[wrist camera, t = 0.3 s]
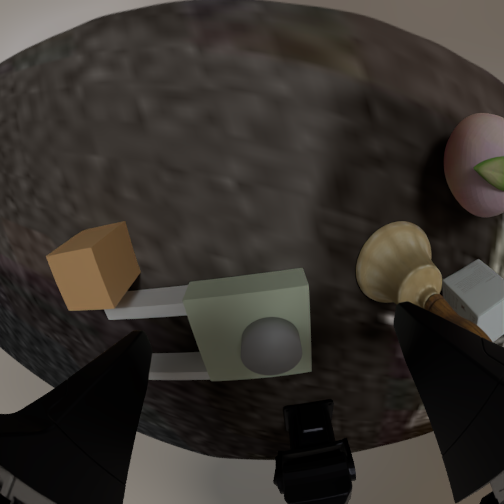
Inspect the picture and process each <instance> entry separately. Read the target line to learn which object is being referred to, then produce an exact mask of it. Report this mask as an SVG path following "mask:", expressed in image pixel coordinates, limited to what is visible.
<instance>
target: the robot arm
mask: <svg viewBox="0 0 504 504" xmlns="http://www.w3.org/2000/svg"><path fill="white" fill-rule="evenodd" d="M394 328H395V331H396V334H397V337H398V340H399V343H400V346H401V349H402V352H403V355H404V358H405V361H406V364H407V366H408V368H409V371H410V373H411V375H412V377H413V380H414V382H415V384H416V387H417V389H418V392H419V394H420V397H421V399H422V402H423V404H424V407H425V409H426V412H427V414H428V417H429V420H430V422H431V425H432V428H433V431H434V434H435V436H436V439H437V442H438V445H439V448H440V451H441V454H442V458H443V461H444V464H445V468H446V471H447V475H448V478H449V481H450V485H451V489H452V493H453V497H454V500H455V503H458V502H460V501H461V500H463V499H465V498H467V497H468V496H470V495H472V494H473V493H474V492H477V491H478V490H480V489H481V488H483V487H484V486H486V485H487V484H489V483H490V484H491V487H492V489H493V491H492V492H491V493H489V494H488V495H486V496H485V497H483V498H482V499H481V502H480V504H504V347H501V346H499V345H497V344H495V343H493V342H491V341H489V340H487V339H485V338H483V337H480V336H479V335H477V334H475V333H473V332H471V331H469V330H467V329H465V328H463V327H461V326H459V325H457V324H455V323H453V322H451V321H449V320H446V319H444V318H442V317H440V316H438V315H436V314H434V313H432V312H430V311H428V310H426V309H424V308H422V307H420V306H417V305H415V304H413V303H411V302H409V301H405V302H400V303H398V304H397V307H396V312H395V317H394ZM151 359H152V347H151V345H150V342H149V340H148V338H147V335H146V333H145V332H144V331H142V330H135V331H132V332H131V333H129V334H128V335H127V336H125V337H124V338H123V339H121V340H120V341H118V342H117V343H116V344H114V345H113V346H112V347H110V348H109V349H108V350H106V351H105V352H103V353H102V354H101V355H99V356H98V357H97V358H95V359H94V360H93V361H91V362H90V363H88V364H87V365H86V366H84V367H83V368H82V369H80V370H79V371H78V372H76V373H75V374H73V375H72V376H71V377H69V378H68V380H65V381H64V382H63V383H61V384H60V385H59V386H57V387H56V388H54V389H53V390H51V391H50V392H48V393H47V394H45V395H44V396H42V397H41V398H39V399H37V400H36V401H34V402H33V403H31V404H29V405H28V406H26V407H25V408H23V409H21V410H20V411H18V412H15V413H12V414H0V504H123V499H124V493H125V486H126V485H125V484H126V480H127V474H128V469H129V464H130V459H131V454H132V450H133V445H134V440H135V435H136V431H137V427H138V423H139V418H140V414H141V410H142V406H143V402H144V398H145V394H146V390H147V385H148V379H149V372H150V365H151ZM333 404H334V403H333V400H326V401H320V402H314V403H308V404H301V405H294V406H286V407H284V416H285V423H286V430H287V431H289V436H290V447H291V450H287V451H278V456H276V457H275V460H276V469H275V475H274V480H273V481H274V484H275V485H276V486H278V489H279V491H280V493H281V494H284V499H285V501H286V502H287V504H348V502H349V500H350V498H351V492H352V482H351V481H355V480H356V472H355V466H354V461H353V458H352V454H351V451H350V447H349V444H348V440H347V438H344V439H343V440H339V441H335V437H334V432H333V428H332V423H331V420H332V412H333Z"/></svg>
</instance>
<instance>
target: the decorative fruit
mask: <svg viewBox="0 0 504 504" xmlns="http://www.w3.org/2000/svg"><path fill="white" fill-rule="evenodd" d="M444 173H445V177H446V180H447V183H448V186H449V188H450V190H451V192H452V194H453V195H454V197H455V198H456V200H457V201H458V202H459V203H460V205H461V206H462V207H463V208H464V209H466V210H467V211H468V212H470V213H472V214H474V215H476V216H479V217H491V216H496V215H499V214H501V213H503V212H504V118H502V117H500V116H497V115H494V114H488V113H477V114H473V115H470V116H468V117H466V118H465V119H463V120H462V121H461V122H460V123H459V124H458V125H457V126H456V128H455V129H454V130H453V132H452V134H451V136H450V137H449V139H448V142H447V144H446V148H445V152H444Z"/></svg>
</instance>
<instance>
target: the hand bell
mask: <svg viewBox="0 0 504 504" xmlns="http://www.w3.org/2000/svg"><path fill="white" fill-rule="evenodd" d="M356 278H357V282H358V285H359V287H360V289H361V290H362V292H363V293H364V294H365V295H366V296H368V297H369V298H370V299H373V300H375V301H378V302H385V303H387V302H394V303H395V304H398V303H400V302H405V301H409V302H411V303H413V304H415V305H417V306H420V307H422V308H424V309H426V310H428V311H430V312H432V313H434V314H436V315H438V316H440V317H442V318H444V319H446V320H449V321H451V322H453V323H455V324H457V325H459V326H461V327H463V328H465V329H467V330H469V331H471V332H473V333H475V334H477V335H479V336H480V337H483V338H485V339H487V340H489V341H491V342H492V340H491V339H490V338H489V336H488V335H487V334H486V333H485V332H484V331H483V330H482V329H481V328H480V327H479V326H477V325H476V324H475V323H473V322H471V321H470V320H467V319H465V318H463V317H461V316H460V315H458V314H457V313H456V312H455V311H454V310H453V309H452V307H451V306H450V305H449V304H448V302H447V301H446V300H445V299H444V298H443V296H442V295H440V291H441V287H442V276H441V273H440V271H439V270H438V268H437V267H436V266H435V265H434V264H433V262H432V261H431V247H430V243H429V240H428V238H427V236H426V234H425V233H424V231H423V230H422V229H421V228H420V227H418V226H417V225H415V224H413V223H410V222H405V221H398V222H393V223H390V224H387V225H385V226H383V227H382V228H380V229H378V230H377V231H376V232H375V233H373V234H372V235H371V237H370V238H369V239H368V240H367V241H366V243H365V244H364V246H363V247H362V249H361V251H360V254H359V257H358V260H357V264H356Z"/></svg>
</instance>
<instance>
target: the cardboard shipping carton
mask: <svg viewBox="0 0 504 504" xmlns="http://www.w3.org/2000/svg"><path fill="white" fill-rule="evenodd" d="M46 258H47V260H48V263H49V266H50V268H51V271H52V273H53V276H54V278H55V281H56V283H57V285H58V288H59V290H60V292H61V294H62V297H63V299H64V301H65V303H66V305H67V307H68V309H69V311H76V310H99V309H115V307H116V306H117V304H118V303H119V302H120V300H121V299H122V297H123V296H124V295H125V293H126V292H127V290H128V289H129V288H130V286H131V285H132V283H133V282H134V281H135V279H136V278H137V277H138V275H139V274H140V273H141V272H140V269H139V266H138V263H137V260H136V256H135V253H134V250H133V247H132V243H131V240H130V237H129V233H128V230H127V226H126V222H125V221H123V222H118V223H114V224H109V225H105V226H100V227H96V228H92V229H87V230H83V231H81V232H80V233H78V234H77V235H75V236H74V237H72V238H71V239H70V240H68V241H67V242H65V243H64V244H62V245H61V246H60V247H58V248H57V249H56V250H54V251H53V252H51V253H50V254H49V255H47V256H46Z"/></svg>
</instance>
